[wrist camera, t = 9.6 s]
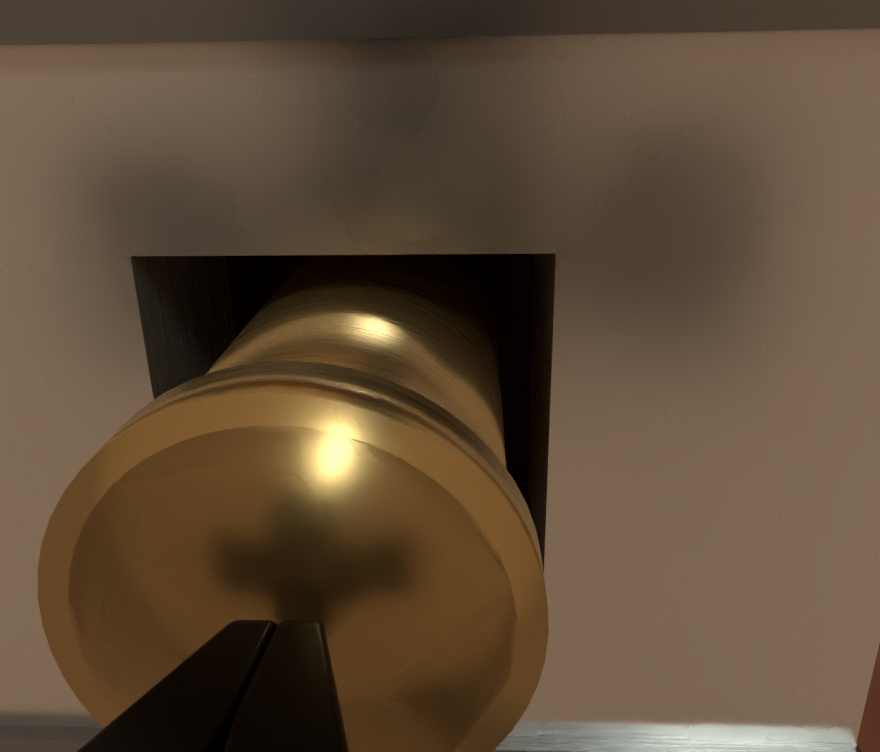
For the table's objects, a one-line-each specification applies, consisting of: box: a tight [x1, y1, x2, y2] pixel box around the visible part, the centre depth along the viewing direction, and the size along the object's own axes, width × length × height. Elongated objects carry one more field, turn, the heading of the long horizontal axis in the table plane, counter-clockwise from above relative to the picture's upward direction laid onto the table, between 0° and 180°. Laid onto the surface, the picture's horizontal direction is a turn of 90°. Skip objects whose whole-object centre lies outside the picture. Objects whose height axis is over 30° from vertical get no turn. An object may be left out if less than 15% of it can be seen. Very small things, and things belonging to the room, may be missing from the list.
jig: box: [0, 0, 880, 752], centre depth 13 cm, size 16×12×4 cm
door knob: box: [37, 254, 549, 752], centre depth 12 cm, size 5×5×8 cm
